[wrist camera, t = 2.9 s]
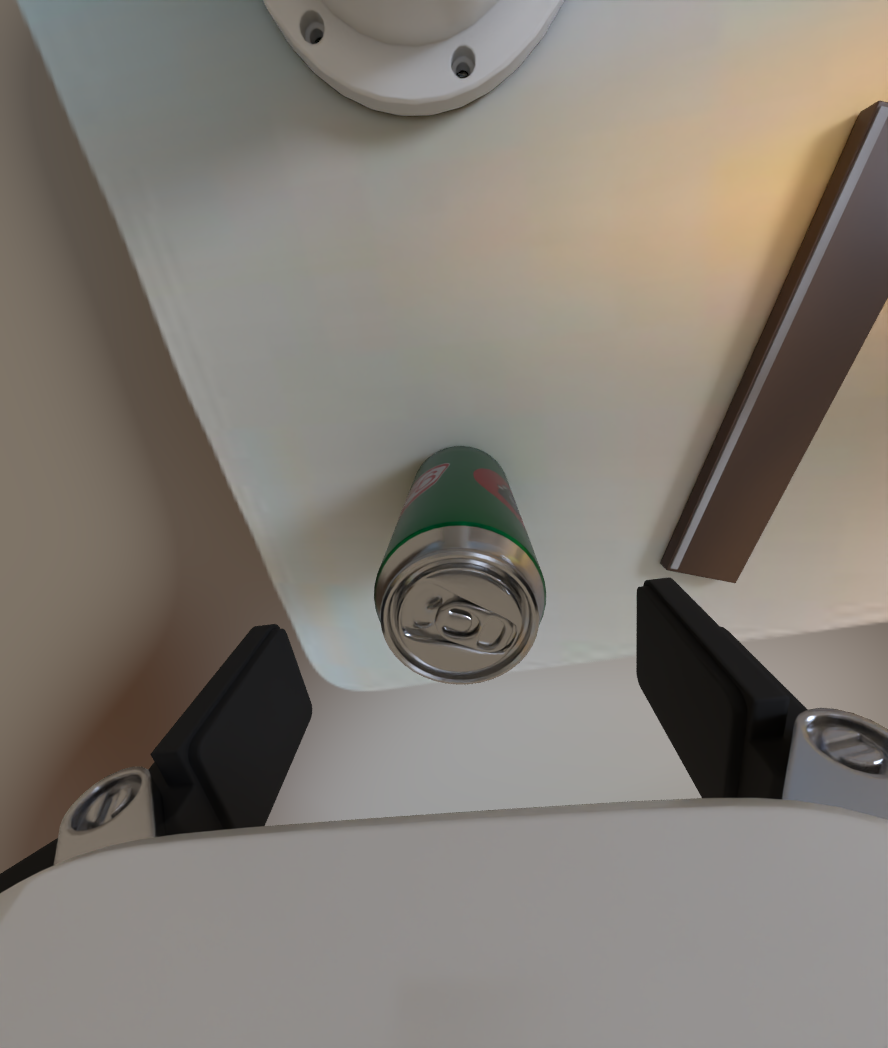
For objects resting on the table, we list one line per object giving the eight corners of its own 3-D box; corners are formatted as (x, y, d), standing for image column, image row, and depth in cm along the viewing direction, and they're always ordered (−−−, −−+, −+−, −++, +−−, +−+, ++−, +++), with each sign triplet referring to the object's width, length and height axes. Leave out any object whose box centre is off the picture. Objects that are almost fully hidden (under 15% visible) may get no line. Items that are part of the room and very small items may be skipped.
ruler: (659, 563, 23) (667, 571, 22) (859, 111, 16) (881, 98, 15) (727, 576, 23) (737, 584, 23) (957, 134, 16) (984, 121, 15)
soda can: (430, 429, 21) (396, 510, 10) (522, 462, 21) (588, 574, 10) (402, 516, 23) (345, 666, 12) (486, 544, 23) (510, 715, 12)
